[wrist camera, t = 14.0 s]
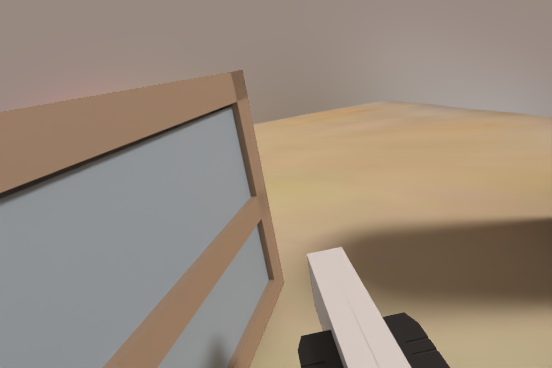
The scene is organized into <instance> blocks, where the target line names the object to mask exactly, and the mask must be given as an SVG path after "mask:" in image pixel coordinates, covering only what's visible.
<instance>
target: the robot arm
mask: <svg viewBox="0 0 552 368" xmlns="http://www.w3.org/2000/svg"><path fill="white" fill-rule="evenodd" d="M307 259H308V266H309V272H310V278H311V285H312V291H313V297H314V304H315V308H316V311H317V314H318V317H319V320H320V323H321V326H322V329H323V331H322V332H318V333H313V334H309V335H304V336H301V340H300V344H299V348H298V354H299V359H300V364H301V368H450V367H449V366H448V364H447V363H446V361H445V360H444V358H443V357H442V356H441V354H440V353H439V351H437V349H436V347H435V346H434V344H433V343H432V342H431V340H430V339H429V338H428V336H427V334H426V333H425V332H424V330H423V329H422V327H421V326H420V325H419V323H418V322H416V321H415V320H414V319H412V318H411V317H410V316H408V315H407V314H405V313H399V314H395V315H390V316H386V317H382V316H381V314H380V313H379V311H378V309H377V307H376V306H375V304H374V302H373V300H372V299H371V297H370V295H369V294H368V292H367V290H366V288H365V287H364V285H363V283H362V281H361V280H360V278H359V276H358V275H357V273H356V271H355V269H354V268H353V266H352V264H351V262H350V261H349V259H348V257H347V255H346V254H345V252H344V250H343V249H342V247H338V248H333V249H328V250H324V251H319V252H314V253H309V254H307Z"/></svg>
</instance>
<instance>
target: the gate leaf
mask: <svg viewBox="0 0 552 368" xmlns="http://www.w3.org/2000/svg"><path fill="white" fill-rule="evenodd" d="M283 285H284V279H283V274H282V269H281V264H280V259H279V254H278V249H277V244H276V239H275V233H274V228H273V223H272V218H271V213H270V208H269V203H268V198H267V193H266V188H265V183H264V177H263V172H262V167H261V162H260V157H259V152H258V147H257V142H256V137H255V132H254V127H253V121H252V116H251V111H250V106H249V101H248V96H247V91H246V86H245V81H244V76H243V71H242V70H239V71H234V72H228V73H222V74H216V75H211V76H205V77H200V78H194V79H188V80H182V81H176V82H170V83H165V84H159V85H153V86H147V87H142V88H136V89H130V90H125V91H119V92H113V93H107V94H102V95H96V96H90V97H84V98H79V99H73V100H68V101H61V102H56V103H50V104H45V105H38V106H33V107H27V108H21V109H15V110H10V111H4V112H0V368H249V367H250V365H251V362H252V360H253V357H254V355H255V352H256V350H257V348H258V345H259V343H260V340H261V338H262V336H263V333H264V331H265V328H266V326H267V323H268V321H269V319H270V316H271V314H272V311H273V309H274V306H275V304H276V302H277V299H278V297H279V294H280V292H281V290H282V287H283Z"/></svg>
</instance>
